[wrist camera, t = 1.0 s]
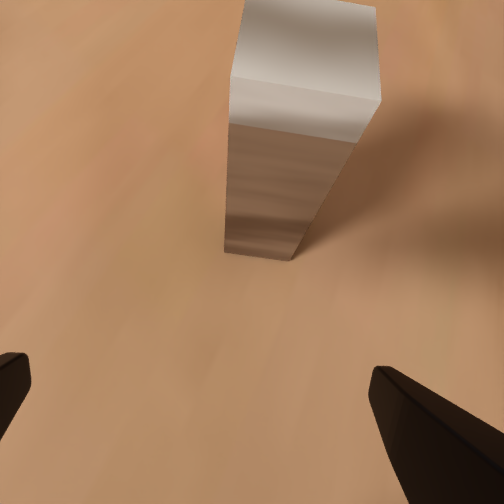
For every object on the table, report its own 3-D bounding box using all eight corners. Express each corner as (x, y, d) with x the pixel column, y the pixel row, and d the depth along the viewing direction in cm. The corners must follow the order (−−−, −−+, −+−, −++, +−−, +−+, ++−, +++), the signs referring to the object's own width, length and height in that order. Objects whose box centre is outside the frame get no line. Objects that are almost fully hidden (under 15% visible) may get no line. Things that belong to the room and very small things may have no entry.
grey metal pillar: (289, 261, 24) (381, 100, 10) (224, 252, 24) (230, 76, 10) (293, 205, 26) (375, 7, 12) (233, 196, 26) (248, -16, 12)
